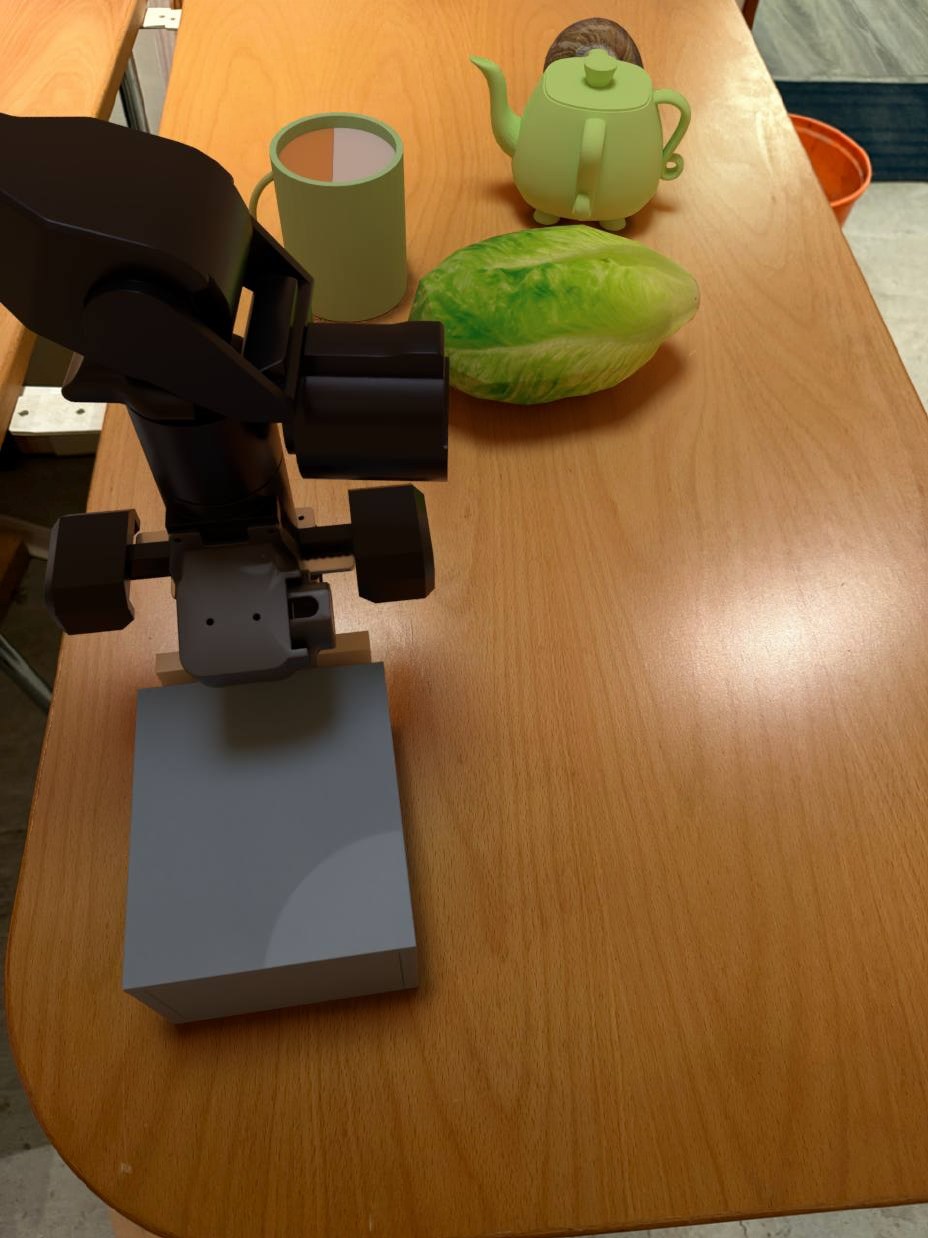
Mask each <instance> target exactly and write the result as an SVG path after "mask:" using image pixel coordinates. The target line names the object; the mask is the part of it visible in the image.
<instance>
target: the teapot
mask: <svg viewBox="0 0 928 1238" xmlns="http://www.w3.org/2000/svg"><path fill="white" fill-rule="evenodd" d="M468 60H469V61H470V62H471V63H472V64H473V65H474V66H475V67H476V68H477V69H478V70H479V71H480V72H481V73H482V75H483V76H484V78H485V80H486V83H487V87H488V91H489V93H488V94H489V105H490V106H489V107H490V109H489V111H490V126H491V130H492V134H493V137H494V139H495V142H496V144H497V145H498V146H499V148H500V149H501V151H502V152H503V153H504V154H505V155H507V156H508V157H509V158H511V161H510V163H511V166H510V167H511V174H512V178H513V183H514V184H515V187H516V188H517V190H518V192H519V193H520V195H521V197H522V198H523V200H524V202H526V204H527V205H528V206H530V207H531V208H533V209H535V210H534V213H533V214H532V215H533V216H532V217H533V220H534V221H536V223H538V224H541V225H546V226H549V225H554V224H557V223H558V222H559V221H560V220H561V218H564V219H570V220H575V221H580V222H584V221H585V222H586V221H589V222H591V221H592V222H594V221H595V222H597V221H598V224H599V226H600V227H602V228H603V229H605V230H608V231H612V232H613V231H620V230H622V229H624V228H625V227H626V225H627V222H626V218H628V217H631V216H634V215H635V214H637V213H638V212H640V210H641V209H643V208H644V207H645V206H646V205H647V204H648V203H649V202H650V201H651V200H652V198H653V197H654V196H655V194H656V192H657V190H658V187H659V184H660V180H662V181H666V182H669V181H674V180H676V179H678V178H679V177H680V176H681V175H682V173H683V172H684V170H685V169H684V168H685V160H684V157H683V156H682V155H681V154H679V153H676V150H677V149H678V147H679V146H680V144H681V142H682V141H683V139H684V138H685V135H686V133H687V131H688V130H689V127H690V123H691V120H692V109H691V106H690V103H689V101H688V99H687V98H686V97H685V96H684V95H683V94H682V93H681V92H679V91H677V90H674V89H671V88H661V89H657V90H655V89H654V85H653V82H652V79H651V77H650V74H649V73H648V72H647V71H646V70H645V68H644V69H643V68H641V67H639V66H637V65H634V64H631V63H628V62H624V61H619V60H616V59H615V58H614V57H612V56H610V55H608V53H607V52H606V51H605V50H603V49H592V50H590V51H589V52H588V54H587V57H573V58H564V59H560V60H557V61H555V62H553V63H552V64H550V65H549V66H548V67H547V69H546V70H545V72H544V73H543V72H542V74H541V76H540V78H539V79H538V82H537V84H536V85H535V87H534V89H533V91H532V92H531V95H530V96H529V98H528V100H527V102H526V104H525V107H524V109H523V112H522V114H521V117H520V116H519V115H518V114H516V113H515V112H514V111H513V110H512V109H511V106H510V103H509V99H508V88H507V79H506V77H505V74H504V72H503V70H502V68H501V67H500V66H499V65H498V64H497V63H496V62H494V61H493V60H490V59H488V58H485V57H483V56H479V55H478V56H477V55H469V56H468ZM662 104H663V105H671V106H674V107H675V108H677V109H678V110H679V112H680V118H679V121H678V124H677V126H676V127H675V129H674V131H673V133H672V134H671V137H670V138H669V139H668V141H667V143H665V146H664V133H663V132H664V131H663V125H662V118H661V114H660V113H661V112H660V109H659V105H662ZM668 163H673V164H675V166H673V167H668V166H667V165H668Z"/></svg>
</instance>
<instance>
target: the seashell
mask: <svg viewBox="0 0 928 1238" xmlns="http://www.w3.org/2000/svg"><path fill="white" fill-rule="evenodd" d="M592 49H603V50H605V51H606V52H607V53H608V55H610V56H612V57H614V58H615V59H616V60H619V61H624V62H628V63H631V64H634V65H637V66H639V67H641V68H643V69H644V70H645V67H644V64H643V63H644V62H643V59H642V56H641V52H640V50H639V48H638V46H637V43H636V42H635V40H634V39H633V38H632V36H631V35H630V34H629V32H628V30H626V29H625V28H624V27H623V26H621V25H620V24H619V23H617V22H616V21H614V20H611V19H609V18H604V17H599V16H597V17H595V16H593V17H588V18H585V19H580V20H577V21H576V22H573V23H571V24H570V25H568V26H567V27H565V28H564V29H563V30H562V31H561V32H559V33H558V35H556V37H555V39H554V40H553V42H552V43H551V45H550V47H549V48H548V51H547V53H546V55H545V58H544V63H543V69H542V74H543V73H544V72H545V70H546V69H547V67H548V66H549V65H550V64H552V63H553V62H555V61H557V60H560V59H564V58H573V57H587V54H588V52H589V51H590V50H592Z"/></svg>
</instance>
